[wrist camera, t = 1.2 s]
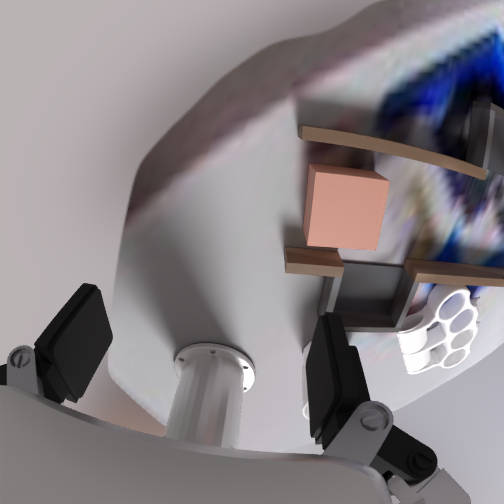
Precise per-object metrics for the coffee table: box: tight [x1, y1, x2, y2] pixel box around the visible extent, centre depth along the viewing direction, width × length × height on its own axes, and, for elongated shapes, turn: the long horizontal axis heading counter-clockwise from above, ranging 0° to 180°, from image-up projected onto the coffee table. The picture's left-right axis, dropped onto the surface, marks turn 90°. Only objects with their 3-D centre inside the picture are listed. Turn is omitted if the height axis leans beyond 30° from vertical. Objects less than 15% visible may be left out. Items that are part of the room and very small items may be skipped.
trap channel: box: [284, 101, 504, 332], centre depth 26 cm, size 30×42×6 cm
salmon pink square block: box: [303, 163, 390, 250], centre depth 27 cm, size 7×7×4 cm
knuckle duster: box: [396, 284, 480, 374], centre depth 35 cm, size 3×18×15 cm
